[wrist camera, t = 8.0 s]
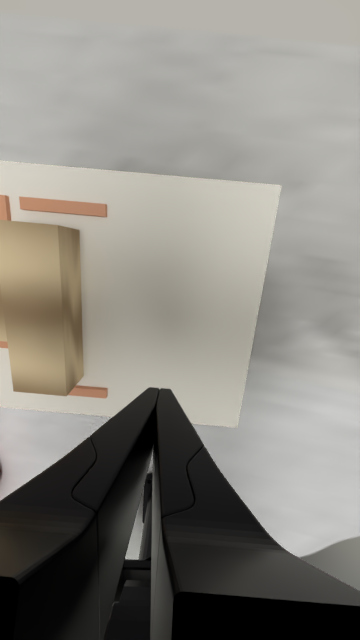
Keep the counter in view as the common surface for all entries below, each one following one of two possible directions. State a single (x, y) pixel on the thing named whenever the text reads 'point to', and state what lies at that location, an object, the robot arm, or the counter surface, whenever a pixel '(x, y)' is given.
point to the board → (152, 283)
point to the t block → (41, 306)
